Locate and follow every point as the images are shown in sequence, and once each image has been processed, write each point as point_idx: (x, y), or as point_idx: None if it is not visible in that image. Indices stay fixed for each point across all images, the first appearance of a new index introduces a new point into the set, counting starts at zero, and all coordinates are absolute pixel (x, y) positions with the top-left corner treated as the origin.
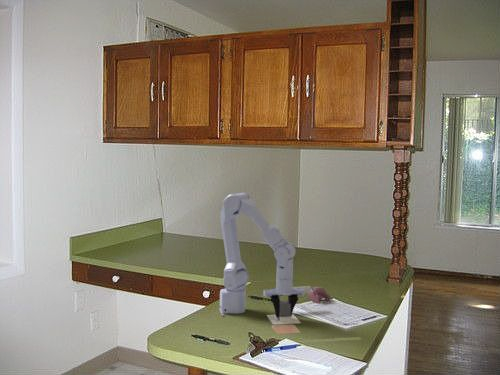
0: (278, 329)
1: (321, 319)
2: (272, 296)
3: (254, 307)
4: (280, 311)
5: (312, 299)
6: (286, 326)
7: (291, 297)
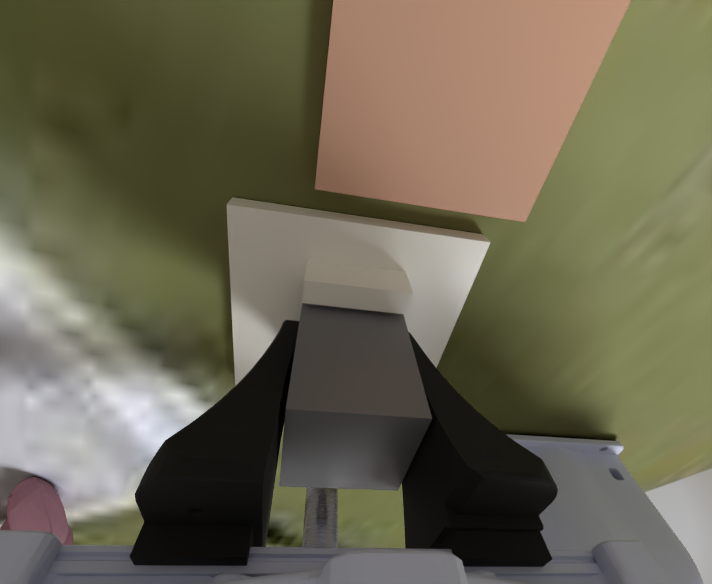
0: (538, 90)
1: (12, 279)
2: (539, 544)
3: (398, 494)
4: (404, 352)
5: (53, 520)
6: (409, 155)
7: (262, 502)
